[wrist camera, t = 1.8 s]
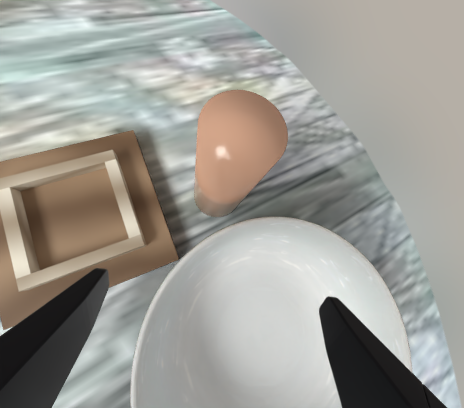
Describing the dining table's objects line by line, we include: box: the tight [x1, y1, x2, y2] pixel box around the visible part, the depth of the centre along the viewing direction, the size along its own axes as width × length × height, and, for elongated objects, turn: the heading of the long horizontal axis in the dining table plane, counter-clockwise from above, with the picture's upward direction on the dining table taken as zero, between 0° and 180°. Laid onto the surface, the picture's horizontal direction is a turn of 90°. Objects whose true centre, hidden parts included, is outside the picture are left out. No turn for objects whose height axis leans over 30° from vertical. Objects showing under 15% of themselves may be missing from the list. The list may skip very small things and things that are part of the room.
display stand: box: [0, 130, 179, 330], centre depth 20 cm, size 14×14×3 cm
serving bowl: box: [130, 217, 412, 408], centre depth 19 cm, size 21×21×7 cm
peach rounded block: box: [194, 90, 288, 217], centre depth 18 cm, size 5×5×13 cm
